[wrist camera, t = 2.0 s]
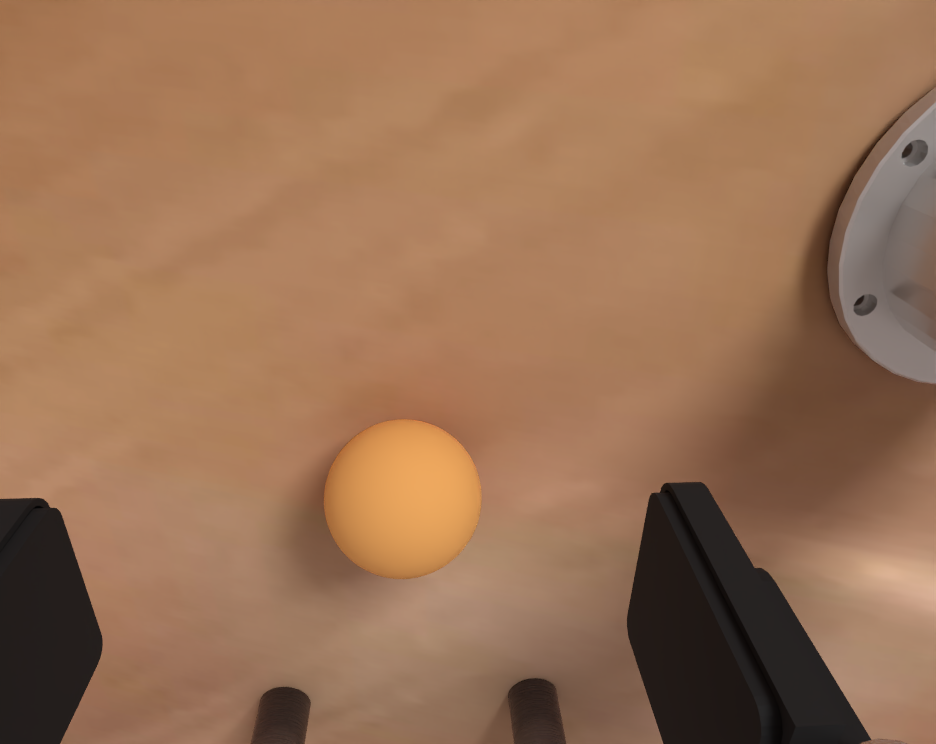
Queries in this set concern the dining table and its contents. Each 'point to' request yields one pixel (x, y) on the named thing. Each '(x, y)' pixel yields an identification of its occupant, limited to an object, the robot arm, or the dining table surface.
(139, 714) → the dining table surface
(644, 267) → the dining table surface
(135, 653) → the dining table surface
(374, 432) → the ball
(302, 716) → the left post
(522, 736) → the right post
